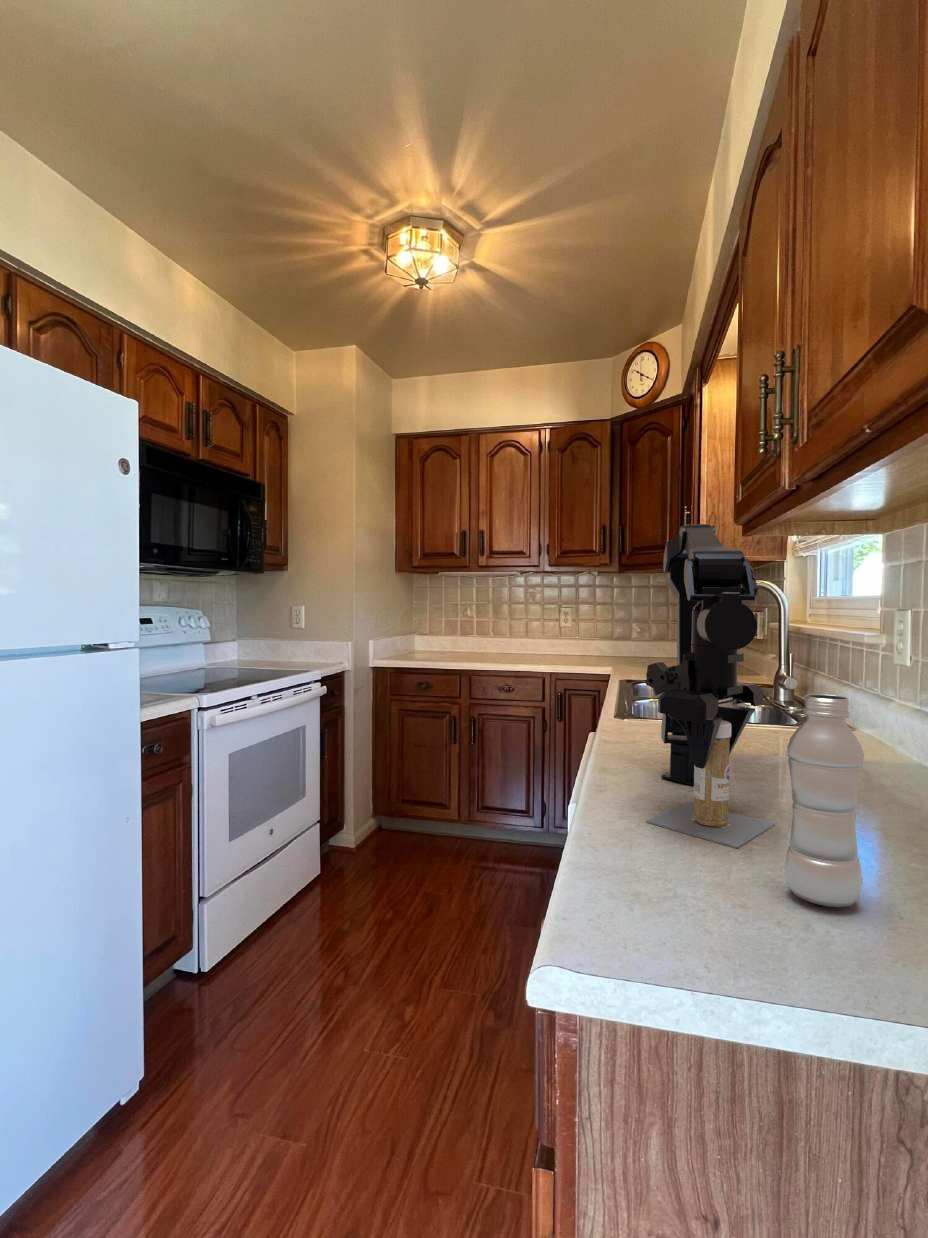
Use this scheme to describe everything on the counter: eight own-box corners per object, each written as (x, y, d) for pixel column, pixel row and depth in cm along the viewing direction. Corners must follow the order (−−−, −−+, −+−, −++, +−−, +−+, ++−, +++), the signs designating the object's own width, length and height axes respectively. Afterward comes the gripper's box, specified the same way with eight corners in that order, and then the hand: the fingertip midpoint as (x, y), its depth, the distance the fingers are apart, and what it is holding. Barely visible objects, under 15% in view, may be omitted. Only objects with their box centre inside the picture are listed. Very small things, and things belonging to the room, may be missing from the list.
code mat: (688, 803, 90) (688, 801, 90) (775, 825, 81) (775, 823, 81) (646, 822, 82) (646, 820, 82) (737, 848, 73) (737, 847, 73)
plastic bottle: (879, 914, 58) (884, 701, 57) (814, 919, 57) (820, 702, 56) (827, 883, 64) (832, 691, 64) (768, 887, 63) (773, 692, 63)
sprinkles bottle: (729, 830, 79) (732, 725, 78) (691, 825, 80) (694, 722, 80) (728, 819, 83) (730, 719, 83) (692, 814, 85) (694, 716, 84)
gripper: (689, 640, 93) (686, 743, 94) (622, 644, 81) (619, 763, 81) (765, 644, 85) (763, 756, 86) (705, 649, 73) (702, 781, 73)
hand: (711, 763), depth 82 cm, fingers open, 7 cm apart
